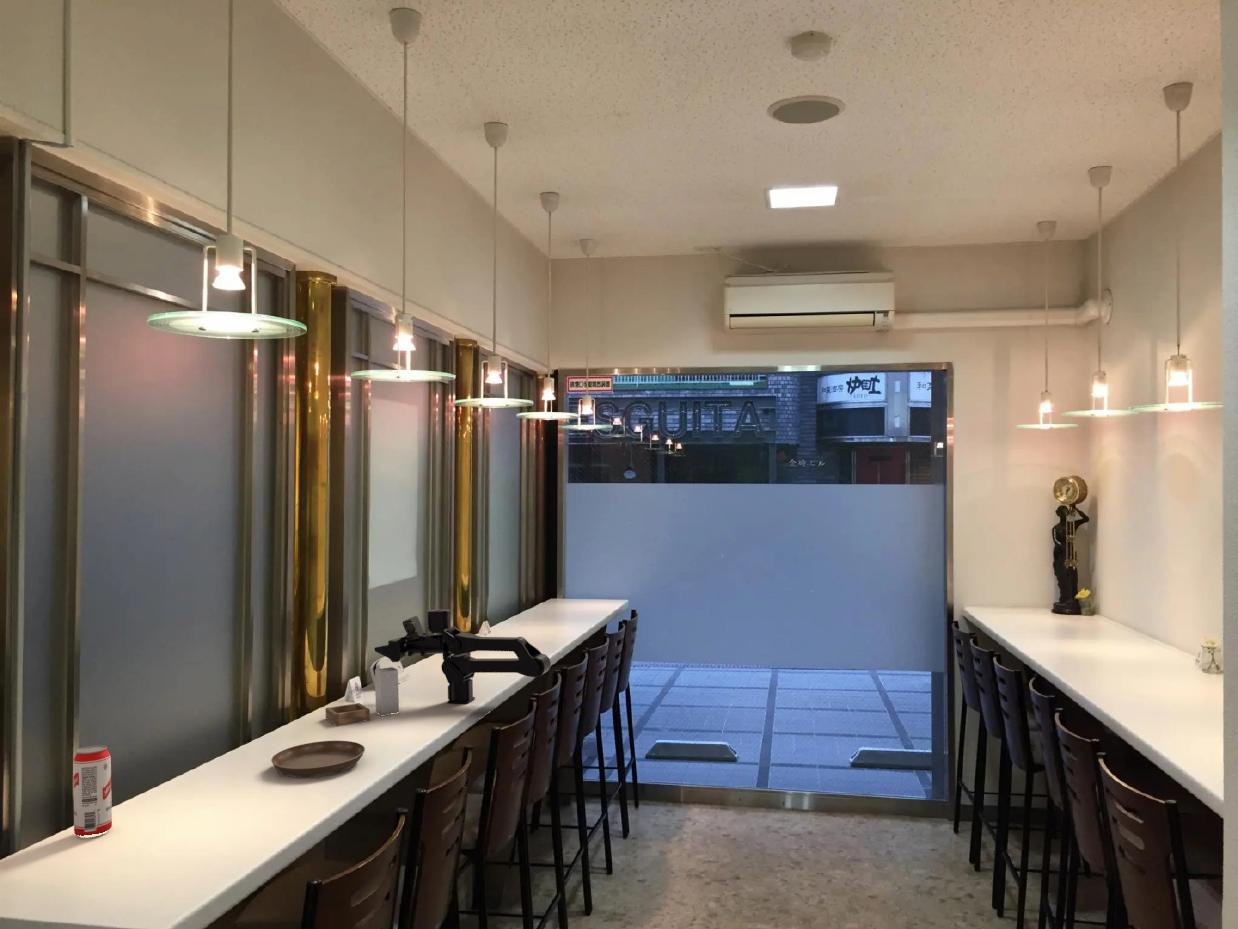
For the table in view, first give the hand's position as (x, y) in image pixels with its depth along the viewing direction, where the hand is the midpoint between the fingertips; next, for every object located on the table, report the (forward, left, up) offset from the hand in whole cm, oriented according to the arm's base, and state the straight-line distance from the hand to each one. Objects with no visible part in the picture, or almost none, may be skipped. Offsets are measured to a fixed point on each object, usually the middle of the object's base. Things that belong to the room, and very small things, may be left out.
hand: (381, 646), depth 283 cm
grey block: (-9, +16, -16) cm, 25 cm away
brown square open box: (-1, +24, -16) cm, 29 cm away
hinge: (+9, -22, -17) cm, 29 cm away
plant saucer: (-16, +65, -17) cm, 69 cm away
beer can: (+5, +110, -16) cm, 111 cm away
